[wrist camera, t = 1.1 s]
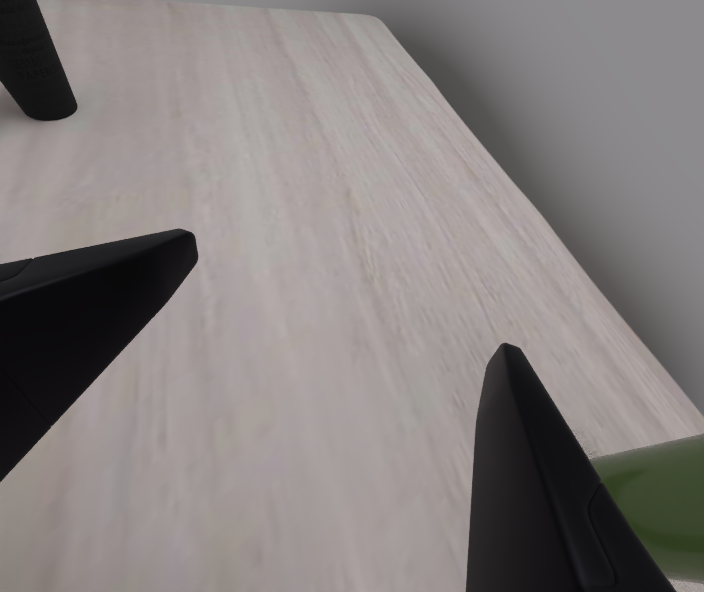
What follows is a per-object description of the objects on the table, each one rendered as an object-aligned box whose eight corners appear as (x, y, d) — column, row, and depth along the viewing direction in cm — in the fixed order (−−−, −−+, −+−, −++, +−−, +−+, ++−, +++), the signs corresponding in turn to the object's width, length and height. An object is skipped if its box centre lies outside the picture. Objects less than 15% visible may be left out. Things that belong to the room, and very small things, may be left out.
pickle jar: (676, 586, 21) (1042, 642, 11) (572, 565, 21) (846, 603, 11) (641, 467, 25) (888, 426, 15) (553, 448, 25) (741, 393, 14)
